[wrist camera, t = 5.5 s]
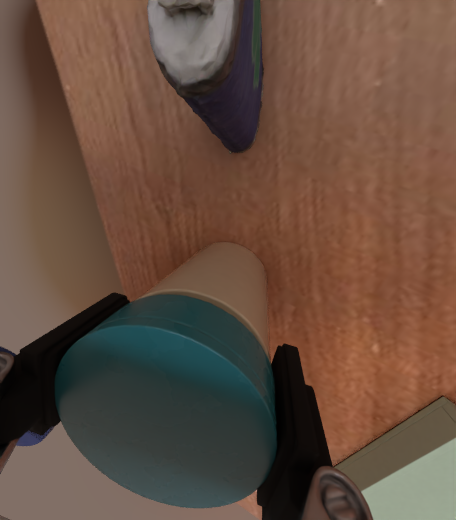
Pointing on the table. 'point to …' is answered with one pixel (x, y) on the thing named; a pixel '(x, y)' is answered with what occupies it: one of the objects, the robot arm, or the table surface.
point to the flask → (213, 62)
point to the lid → (172, 402)
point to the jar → (225, 285)
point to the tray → (410, 467)
